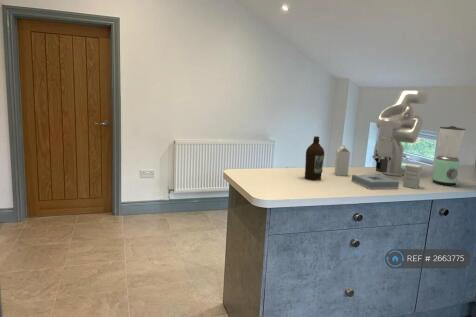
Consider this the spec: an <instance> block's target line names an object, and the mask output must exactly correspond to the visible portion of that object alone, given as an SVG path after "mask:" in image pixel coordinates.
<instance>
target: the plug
mask: <svg viewBox="0 0 476 317" xmlns="http://www.w3.org/2000/svg"><path fill="white" fill-rule="evenodd" d="M378 159H379V158H378ZM380 163H381V164H380V169H378V168H376V167H375V172H378V173H382V172H387V164H388V159H385V158H381V160H380Z"/></svg>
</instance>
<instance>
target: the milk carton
mask: <svg viewBox="0 0 476 317" xmlns="http://www.w3.org/2000/svg"><path fill="white" fill-rule="evenodd" d="M350 156H351V152H350V151H349V150H348V148H346V145H345V144H342V146H339V147H337V150H336V155H335V164H334V172H333V173H334V174H335V176H343V177H344V176H345V177H348V175H349V167H350V158H351V157H350Z"/></svg>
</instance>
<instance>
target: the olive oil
mask: <svg viewBox="0 0 476 317" xmlns="http://www.w3.org/2000/svg"><path fill="white" fill-rule="evenodd" d="M312 142H313V143H311V144H310V145H309V146H308V147H307V148H306V150H305V164H304V166H305V169H304V178H305V179H307V180H310V181H320V180H322V173H323V167H324V166H323V165H324V159H325V150H324V148H323V146H322V145H321V144H320V136H318V135H317V136H315V135H314V136H313V141H312Z"/></svg>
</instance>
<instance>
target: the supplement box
mask: <svg viewBox="0 0 476 317" xmlns="http://www.w3.org/2000/svg"><path fill="white" fill-rule="evenodd" d="M422 168H423V165H421V164H413V163H407V164H406V165H405V167H404V169H405V172H404V174H403V180H402V181H403V183H402V187H405V188H408V189H409V188H410V189H414V190H415V189H418V188H420V183H421V177H422V176H421V175H422Z"/></svg>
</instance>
